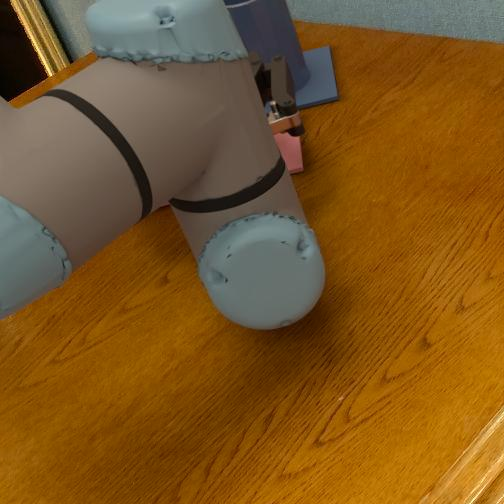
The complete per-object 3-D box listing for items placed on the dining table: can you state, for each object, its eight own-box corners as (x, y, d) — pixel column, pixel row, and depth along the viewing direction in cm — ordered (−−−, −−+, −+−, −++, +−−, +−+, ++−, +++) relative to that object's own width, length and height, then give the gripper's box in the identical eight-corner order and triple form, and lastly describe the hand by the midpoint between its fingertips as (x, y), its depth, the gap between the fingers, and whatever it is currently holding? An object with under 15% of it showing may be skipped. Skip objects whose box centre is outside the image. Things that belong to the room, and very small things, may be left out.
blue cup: (237, 114, 95) (198, 15, 88) (236, 81, 99) (200, -15, 93) (313, 95, 95) (280, -5, 88) (309, 63, 100) (278, -34, 93)
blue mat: (213, 131, 93) (211, 126, 93) (214, 77, 101) (213, 73, 101) (339, 99, 93) (337, 95, 93) (330, 49, 101) (329, 45, 101)
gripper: (108, 273, 73) (85, 146, 88) (381, 180, 76) (314, 72, 90) (55, 179, 67) (40, 60, 82) (353, 82, 70) (286, -17, 85)
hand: (184, 66), depth 86 cm, fingers closed on cupcake, 8 cm apart
